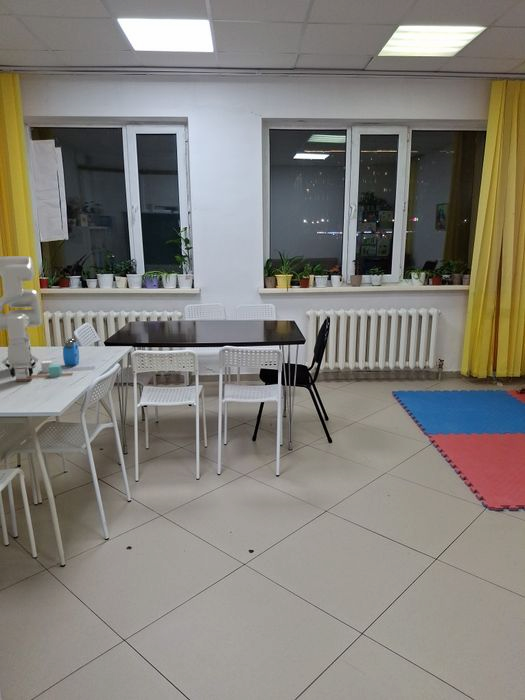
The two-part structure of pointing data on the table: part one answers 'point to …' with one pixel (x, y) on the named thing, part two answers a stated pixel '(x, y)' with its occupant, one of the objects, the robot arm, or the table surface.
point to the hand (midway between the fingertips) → (22, 375)
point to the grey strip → (46, 365)
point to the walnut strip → (23, 375)
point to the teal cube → (55, 370)
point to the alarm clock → (71, 352)
